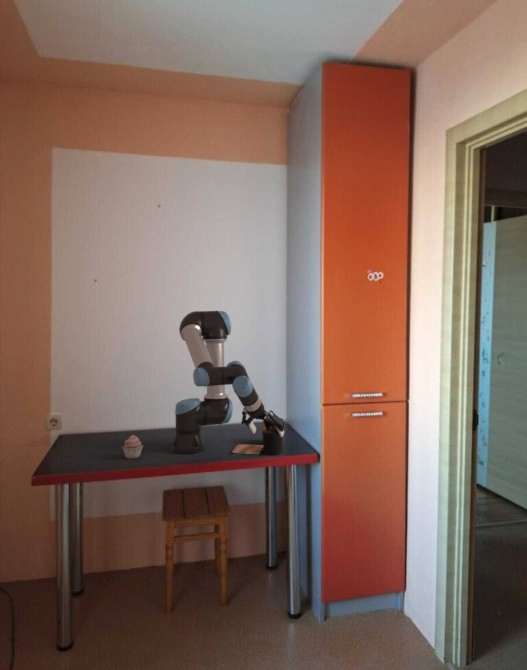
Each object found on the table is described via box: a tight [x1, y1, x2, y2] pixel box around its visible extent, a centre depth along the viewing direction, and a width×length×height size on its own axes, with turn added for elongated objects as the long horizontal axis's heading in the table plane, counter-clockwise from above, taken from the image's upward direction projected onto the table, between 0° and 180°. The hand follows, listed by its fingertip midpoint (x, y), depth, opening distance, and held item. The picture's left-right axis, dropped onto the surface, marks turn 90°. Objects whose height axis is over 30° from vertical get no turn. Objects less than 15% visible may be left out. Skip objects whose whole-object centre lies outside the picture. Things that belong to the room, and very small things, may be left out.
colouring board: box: [231, 443, 263, 456], centre depth 233 cm, size 12×12×1 cm
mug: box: [262, 417, 284, 431], centre depth 242 cm, size 10×14×12 cm
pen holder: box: [262, 429, 284, 456], centre depth 230 cm, size 9×9×10 cm
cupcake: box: [121, 434, 144, 460], centre depth 225 cm, size 9×9×10 cm
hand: (268, 432), depth 223 cm, fingers open, 13 cm apart
